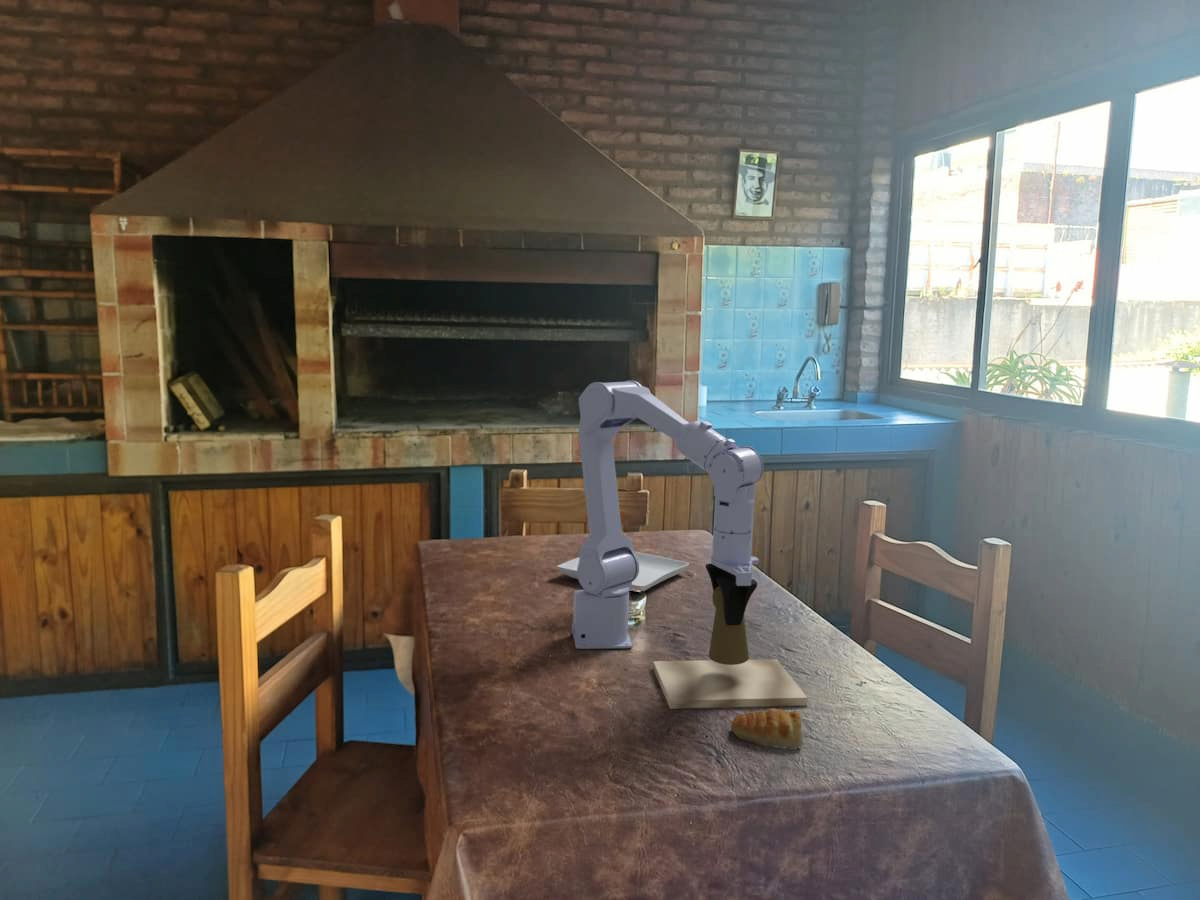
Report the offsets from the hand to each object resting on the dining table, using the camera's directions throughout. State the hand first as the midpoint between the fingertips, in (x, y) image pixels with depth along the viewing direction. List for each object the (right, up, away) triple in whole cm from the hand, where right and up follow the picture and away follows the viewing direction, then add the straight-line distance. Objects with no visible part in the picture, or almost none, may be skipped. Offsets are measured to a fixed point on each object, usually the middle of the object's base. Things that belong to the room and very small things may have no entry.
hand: (728, 617), depth 128 cm
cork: (0, -6, +1) cm, 6 cm away
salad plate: (-14, -3, +54) cm, 56 cm away
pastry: (+4, -13, -15) cm, 20 cm away
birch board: (0, -10, +1) cm, 10 cm away
